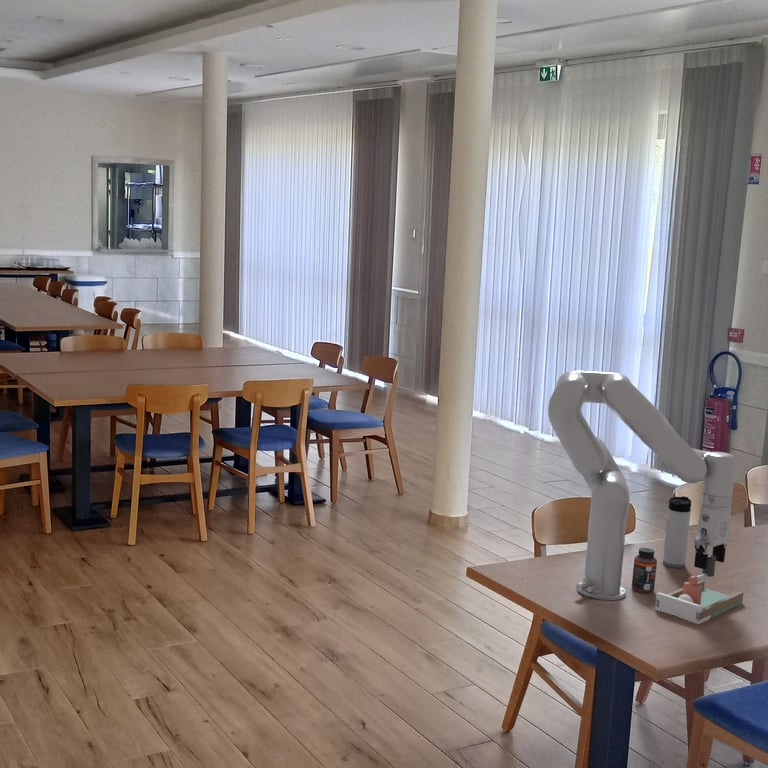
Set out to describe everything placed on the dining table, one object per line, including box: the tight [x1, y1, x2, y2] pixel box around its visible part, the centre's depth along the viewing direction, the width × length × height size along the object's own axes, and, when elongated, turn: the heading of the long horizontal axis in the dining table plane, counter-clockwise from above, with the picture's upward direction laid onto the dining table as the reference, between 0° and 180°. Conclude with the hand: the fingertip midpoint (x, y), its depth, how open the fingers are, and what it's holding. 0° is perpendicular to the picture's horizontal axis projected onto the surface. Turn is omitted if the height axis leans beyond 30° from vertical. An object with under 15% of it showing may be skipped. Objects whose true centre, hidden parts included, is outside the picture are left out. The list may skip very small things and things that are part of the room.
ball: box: [678, 594, 693, 603], centre depth 260 cm, size 4×4×4 cm
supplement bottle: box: [631, 547, 658, 594], centre depth 275 cm, size 6×6×11 cm
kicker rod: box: [682, 553, 717, 605], centre depth 264 cm, size 11×4×12 cm, turn 136°
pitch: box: [654, 580, 744, 625], centre depth 266 cm, size 24×12×4 cm, turn 136°
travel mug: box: [662, 495, 692, 569], centre depth 299 cm, size 6×7×20 cm
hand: (709, 564), depth 266 cm, fingers open, 9 cm apart
